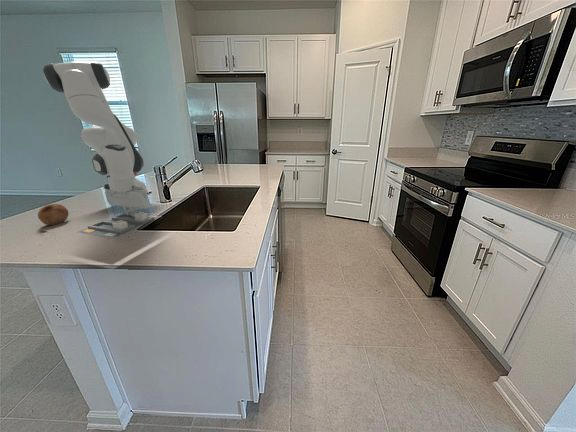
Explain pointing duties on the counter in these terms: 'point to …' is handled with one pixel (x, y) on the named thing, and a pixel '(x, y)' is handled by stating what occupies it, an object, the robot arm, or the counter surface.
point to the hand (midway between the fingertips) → (132, 215)
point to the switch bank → (107, 229)
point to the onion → (53, 214)
